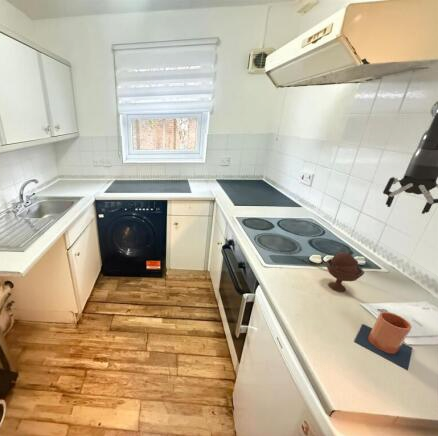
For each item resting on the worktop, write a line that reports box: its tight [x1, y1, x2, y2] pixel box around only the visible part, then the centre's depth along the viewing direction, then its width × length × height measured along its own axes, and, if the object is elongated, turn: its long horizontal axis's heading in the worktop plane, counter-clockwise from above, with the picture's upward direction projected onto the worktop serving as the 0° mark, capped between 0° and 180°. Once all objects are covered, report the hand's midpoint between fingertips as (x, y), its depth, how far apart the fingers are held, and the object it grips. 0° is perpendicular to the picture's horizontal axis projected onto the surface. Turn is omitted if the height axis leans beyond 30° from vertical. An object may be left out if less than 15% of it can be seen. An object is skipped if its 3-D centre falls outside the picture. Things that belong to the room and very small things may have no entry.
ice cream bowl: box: [325, 252, 365, 293], centre depth 88 cm, size 11×11×15 cm
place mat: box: [353, 323, 413, 371], centre depth 68 cm, size 11×10×1 cm
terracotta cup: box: [368, 311, 412, 354], centre depth 66 cm, size 6×6×9 cm
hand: (405, 209), depth 83 cm, fingers open, 8 cm apart
